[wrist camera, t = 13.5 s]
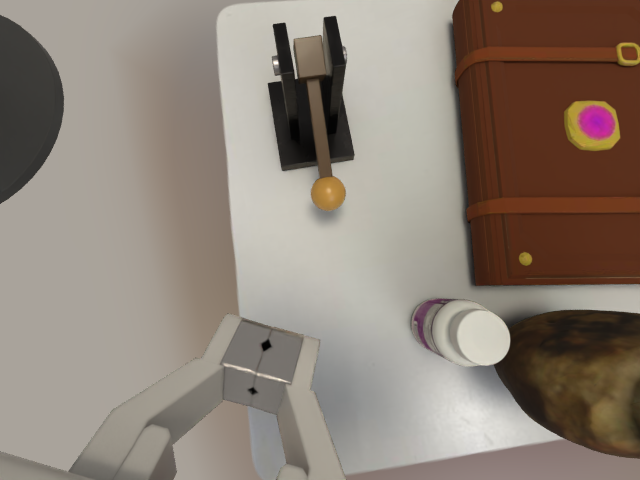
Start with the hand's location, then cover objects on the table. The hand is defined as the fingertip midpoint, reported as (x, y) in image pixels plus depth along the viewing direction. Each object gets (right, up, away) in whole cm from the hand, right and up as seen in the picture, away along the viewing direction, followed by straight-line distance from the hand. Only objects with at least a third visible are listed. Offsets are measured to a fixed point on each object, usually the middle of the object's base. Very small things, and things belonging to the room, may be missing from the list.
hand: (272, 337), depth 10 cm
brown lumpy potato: (+22, -8, +23) cm, 33 cm away
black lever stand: (0, +16, +26) cm, 31 cm away
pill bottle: (+13, -6, +23) cm, 27 cm away
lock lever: (+1, +13, +19) cm, 23 cm away
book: (+28, +14, +26) cm, 41 cm away
